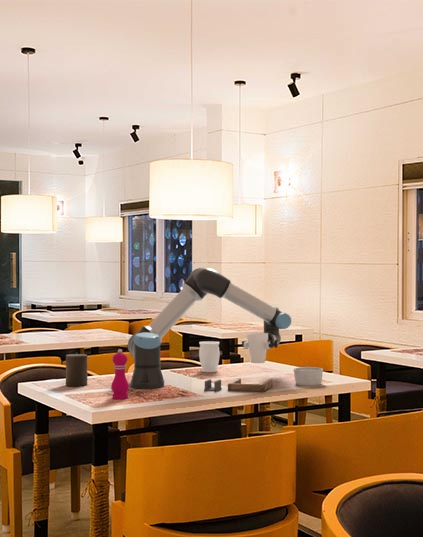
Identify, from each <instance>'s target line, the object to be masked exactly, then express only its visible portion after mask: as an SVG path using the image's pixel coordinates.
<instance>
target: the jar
mask: <svg viewBox="0 0 423 537" xmlns="http://www.w3.org/2000/svg"><path fill="white" fill-rule="evenodd" d="M198 344H199V350H198V356H199V357H198V358H199V364H200V365H201V366H200V367H201V371H200V372H203V373H217V372H218V366H219V363H220V362H219V361H220V355H221V354H220V353H221V352H220V347H219V346H220V341H215V340H211V341H209V340H208V341H207V340H206V341H205V340H204V341H199V343H198Z"/></svg>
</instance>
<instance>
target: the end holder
mask: <svg viewBox="0 0 423 537" xmlns="http://www.w3.org/2000/svg"><path fill="white" fill-rule="evenodd" d="M273 384H274V383H273V379H268V380H266V381H265V382H263V383H261V384H255V383H242V378H236V379H234V380H232V381H230V382H228V383H227V391H228V392H245V393H246V392H247V393H265V392H267V391H269V390H270V389H271V388H273V387H274V386H273Z"/></svg>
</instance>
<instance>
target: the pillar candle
mask: <svg viewBox="0 0 423 537" xmlns="http://www.w3.org/2000/svg"><path fill="white" fill-rule="evenodd" d="M65 386H66V387H71V388H72V387H73V388H74V387H77V388H78V387H87V386H88V354H84V353H82V354H81V353H78V352H75V353H73V354H66V355H65Z"/></svg>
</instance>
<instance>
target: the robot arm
mask: <svg viewBox="0 0 423 537" xmlns="http://www.w3.org/2000/svg"><path fill="white" fill-rule="evenodd" d="M231 280H232V279H229V278H228V277H226V276H225V275H223V274H221V273H220V272H218V271H217V270H215V269H213V268H211V267H208V268H207V267H198V268H195V269H193V270H192V271H191V272H190V273H189V275H188V278H186V280H185V281H184V282H183V283H182V289H181V290H180V291H179V292H178V293H177V295H175V297H174V298H172V299H171V301H170V302H169V303H168V304H167V305H165V307H164V308H163V309H162V311H160V312H159V314H158V315H157V316H156V317H155V318H154V319H153V320H152V321H151V322H150V323H149V324H148V325H143V326H142V327H141V328H140V329H139V330H138V331H137V332H136V333H133V334H132V335H131V336H130V337H129V339H128V340H127V350H128V352H129V354H130V355H131V356H132V357H133V358H134V359H133V362H134V363H133V364H134V365H133V372H132V375H131V379H130V387H131V388H134V389H158V388H162V387H165V380H164V376H163V373H162V369H161V344H163V343H162V342H163V341H162V340H163V338H164V336H165V335H166V334H167V333H168V332H169V331H170V330H171V329H172V328H173V327H174V326H175V325H176V324H177V323H178V321H179V320H180V319H181V318H182V317H183V316H184V315H185V314H186V312H188V310H189V309H190V308H192V306H193V305H194V304H195V303H196V302H197V301H199V302H200V301H202V300H203V299H204V298H205V297H206V296H207V294H210V295H213V296H215V297H217V298H219V299H222V298H224V300H227V301H229V302H231V303H233V304H234V305H236V306H237V307H240V308H242V309H243V310H245V311H247V312H249V313H250V314H252V315H254V316H256V317H258V318H259V319H261V320H263V333H268V341H267V343H265V349H267V350H266V351H269V350H271V349H273V348H275V349H276V348H278V346H279V345H280V343H281V341H282V338H281V337H282V336H281V334H280V330H286V329H288V328H289V327H290V326H291V325H292V317H291V316H290V315H289V314H288V313H287V312H282V311H281V310H280V309H279V307H278V306H272V305H270V304H269V303H267V302H266V301H263V300H261V299H260V298H258V297H257V296H254V295H253V294H251V293H249V292H248V291H246V290H244V289H242V288H240V287H239V286H237V285H235V284H234V283H232V281H231ZM241 347H242V348H243V350H249V345H248V339H247V340H243V341H241Z"/></svg>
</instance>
